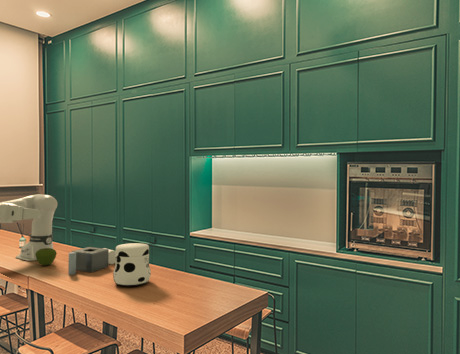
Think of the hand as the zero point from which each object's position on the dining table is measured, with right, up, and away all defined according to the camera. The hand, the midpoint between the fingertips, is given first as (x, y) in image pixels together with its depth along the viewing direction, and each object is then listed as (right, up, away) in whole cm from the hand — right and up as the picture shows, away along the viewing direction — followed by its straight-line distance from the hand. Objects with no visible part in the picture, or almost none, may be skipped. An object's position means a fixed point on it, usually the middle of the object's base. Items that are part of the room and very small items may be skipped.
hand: (37, 213), depth 174 cm
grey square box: (+15, -33, +26) cm, 45 cm away
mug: (+22, -33, +41) cm, 57 cm away
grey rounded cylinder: (+11, -33, +14) cm, 37 cm away
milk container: (+46, -34, -1) cm, 57 cm away
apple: (-12, -32, +31) cm, 47 cm away
